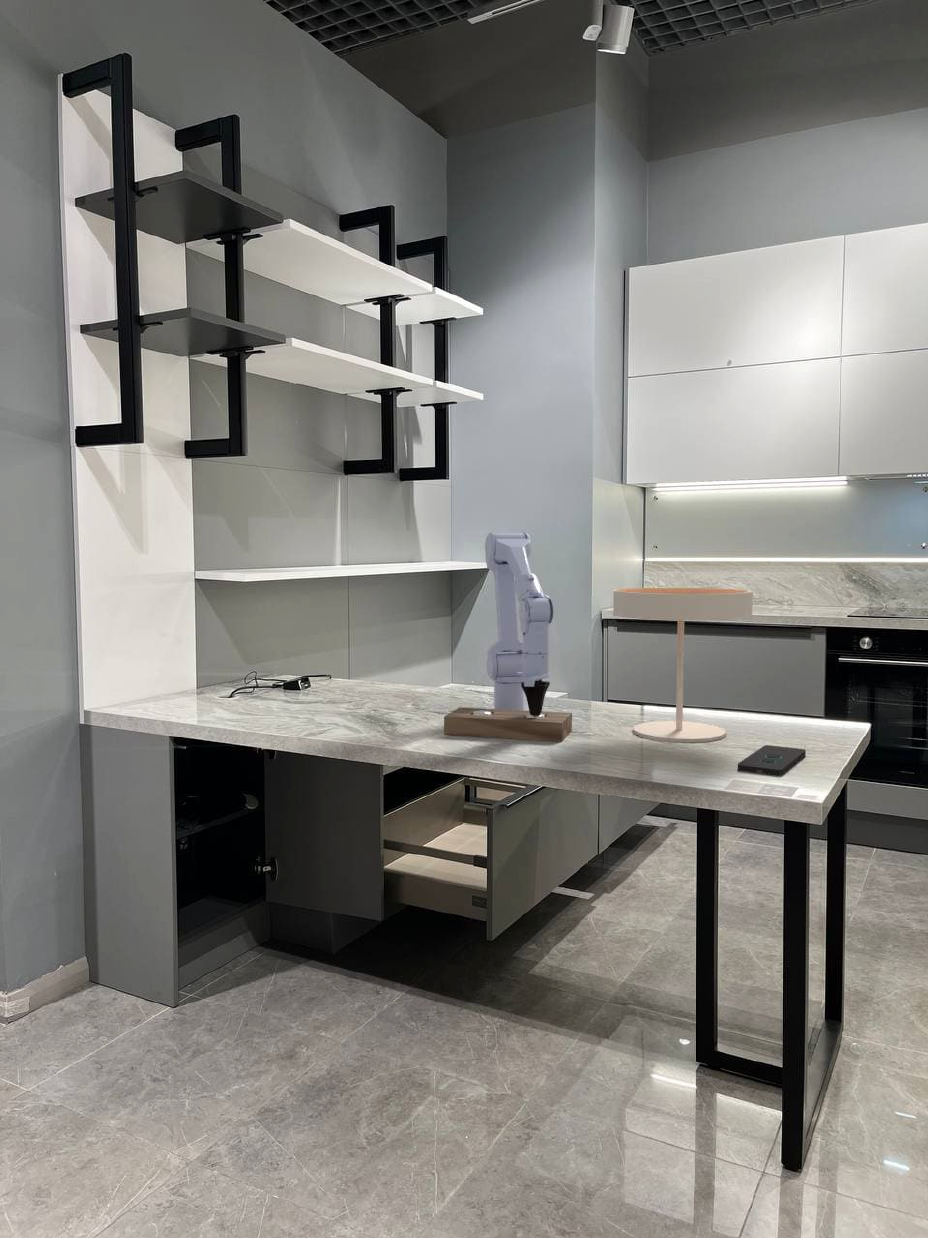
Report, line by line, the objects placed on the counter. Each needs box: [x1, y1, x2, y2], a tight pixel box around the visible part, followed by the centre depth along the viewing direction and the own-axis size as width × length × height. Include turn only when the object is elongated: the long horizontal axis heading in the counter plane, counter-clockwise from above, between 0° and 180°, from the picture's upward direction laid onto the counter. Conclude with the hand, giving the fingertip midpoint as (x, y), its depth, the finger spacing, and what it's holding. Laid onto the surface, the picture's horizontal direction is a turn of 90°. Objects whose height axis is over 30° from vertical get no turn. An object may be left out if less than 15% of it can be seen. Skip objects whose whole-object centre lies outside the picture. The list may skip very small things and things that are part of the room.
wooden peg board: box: [443, 706, 573, 742], centre depth 207 cm, size 12×26×4 cm, turn 74°
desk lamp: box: [612, 587, 754, 743], centre depth 205 cm, size 30×30×31 cm
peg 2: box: [526, 714, 545, 718], centre depth 205 cm, size 4×4×4 cm
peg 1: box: [473, 711, 491, 716], centre depth 208 cm, size 4×4×4 cm
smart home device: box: [737, 744, 807, 777], centre depth 178 cm, size 8×2×20 cm
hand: (535, 715), depth 205 cm, fingers closed, pressing on peg 2
